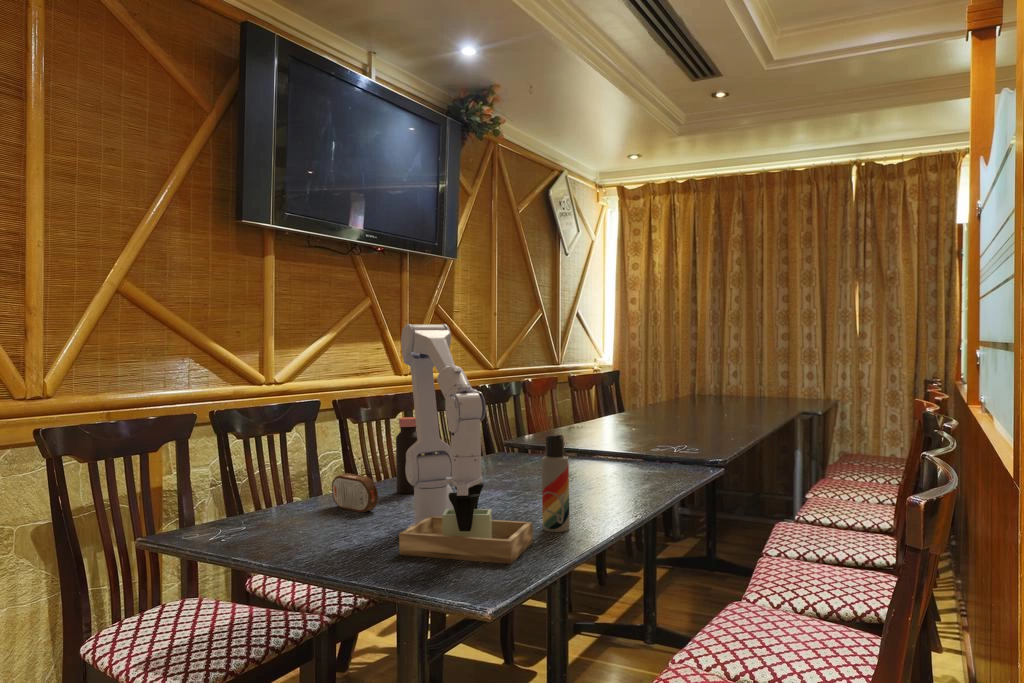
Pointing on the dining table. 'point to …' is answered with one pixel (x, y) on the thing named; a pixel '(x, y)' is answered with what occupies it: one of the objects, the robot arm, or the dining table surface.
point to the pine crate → (467, 542)
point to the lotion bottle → (555, 486)
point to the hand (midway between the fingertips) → (467, 525)
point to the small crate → (479, 524)
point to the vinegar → (404, 452)
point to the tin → (354, 492)
